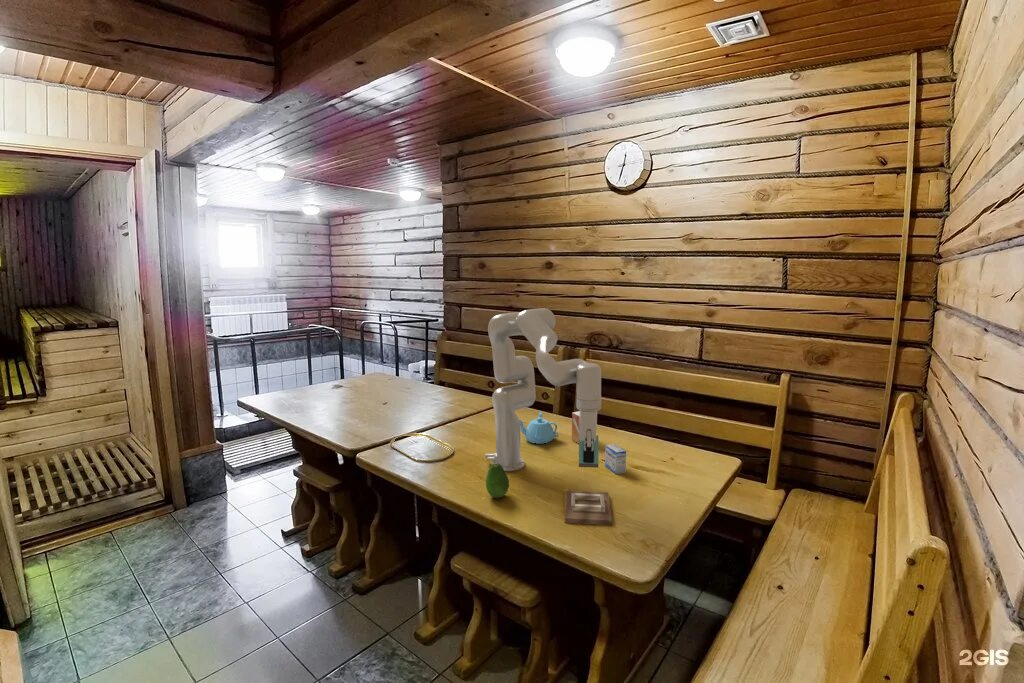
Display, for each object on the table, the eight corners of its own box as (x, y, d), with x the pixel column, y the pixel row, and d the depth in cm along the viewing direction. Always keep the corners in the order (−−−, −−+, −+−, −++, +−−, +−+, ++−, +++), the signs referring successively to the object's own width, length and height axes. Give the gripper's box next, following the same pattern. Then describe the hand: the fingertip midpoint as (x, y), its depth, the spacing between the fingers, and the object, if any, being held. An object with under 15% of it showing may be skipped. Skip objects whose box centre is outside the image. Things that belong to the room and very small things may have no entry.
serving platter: (419, 433, 227) (419, 430, 227) (462, 454, 201) (462, 451, 201) (382, 443, 215) (382, 440, 215) (423, 467, 189) (423, 463, 189)
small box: (571, 440, 214) (571, 412, 212) (583, 438, 216) (583, 410, 214) (581, 446, 207) (582, 417, 204) (594, 443, 209) (594, 415, 207)
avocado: (481, 497, 164) (480, 463, 162) (498, 489, 169) (497, 456, 167) (497, 505, 158) (496, 470, 156) (514, 496, 164) (513, 463, 162)
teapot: (563, 440, 214) (563, 418, 212) (537, 449, 204) (537, 425, 203) (540, 432, 225) (540, 411, 223) (515, 439, 216) (515, 417, 214)
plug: (578, 466, 151) (578, 439, 149) (578, 461, 154) (578, 434, 153) (598, 467, 150) (598, 439, 148) (597, 462, 154) (598, 435, 152)
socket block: (565, 522, 147) (565, 513, 146) (566, 494, 164) (566, 486, 164) (611, 525, 145) (612, 515, 144) (608, 496, 163) (608, 487, 162)
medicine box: (604, 466, 186) (604, 445, 185) (614, 464, 188) (615, 443, 187) (615, 474, 179) (616, 452, 178) (626, 472, 181) (626, 450, 179)
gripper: (576, 395, 158) (576, 449, 161) (576, 411, 141) (576, 470, 144) (599, 396, 157) (599, 449, 160) (602, 411, 140) (601, 471, 143)
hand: (588, 458), depth 152 cm, fingers closed on plug, 4 cm apart
